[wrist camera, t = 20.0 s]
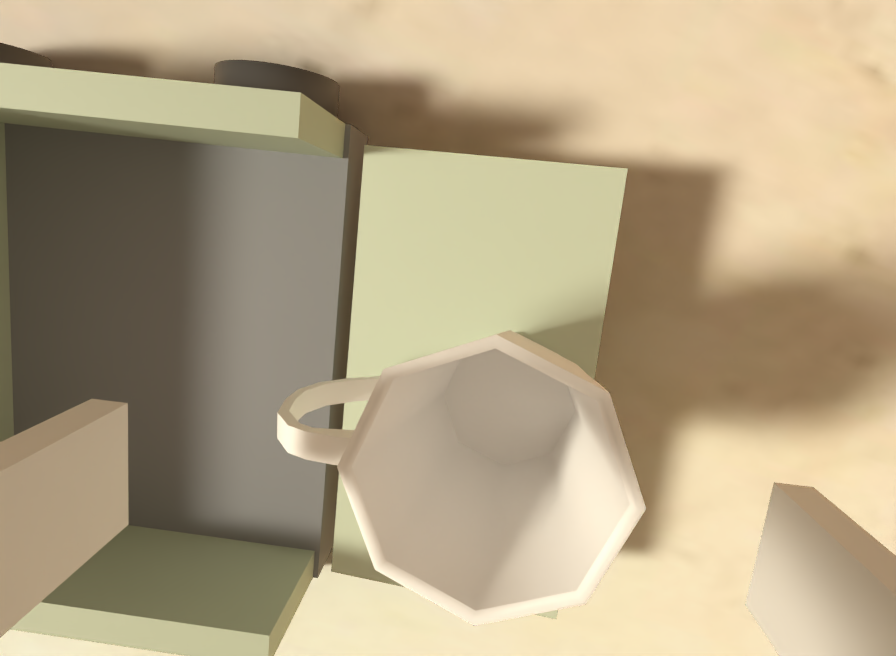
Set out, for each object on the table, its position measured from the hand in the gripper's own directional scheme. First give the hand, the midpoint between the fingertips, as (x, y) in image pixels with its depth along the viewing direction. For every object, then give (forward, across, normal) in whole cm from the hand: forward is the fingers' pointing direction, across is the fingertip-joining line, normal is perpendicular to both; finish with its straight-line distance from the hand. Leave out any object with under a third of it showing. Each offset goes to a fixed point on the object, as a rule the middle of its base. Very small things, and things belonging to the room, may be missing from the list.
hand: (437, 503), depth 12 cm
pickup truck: (+14, -14, -1) cm, 19 cm away
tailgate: (+10, -4, -1) cm, 11 cm away
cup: (+10, 0, 0) cm, 10 cm away
